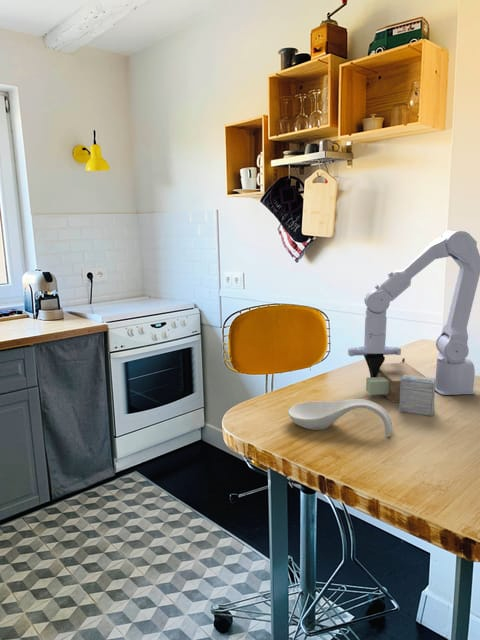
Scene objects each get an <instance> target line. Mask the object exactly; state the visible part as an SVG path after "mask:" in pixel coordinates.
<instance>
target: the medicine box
mask: <svg viewBox="0 0 480 640" xmlns="http://www.w3.org/2000/svg"><path fill="white" fill-rule="evenodd" d="M435 382H436V377H429V376H428V377H427V376H425V377H422V376H413V375H403V377H402V379H401V388H400V402H399V411H398V412H401V413H409V414H415V415H422V416H429V417H433V415H434V411H435V398H436V396H435V395H436V393H435V392H436V391H435Z"/></svg>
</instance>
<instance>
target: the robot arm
mask: <svg viewBox="0 0 480 640" xmlns="http://www.w3.org/2000/svg"><path fill="white" fill-rule="evenodd" d="M477 242H478V241H477V240H476V239H475V238H474V237H473V236H472V235H471V234H470V233H469V232H467V231H463V230H458V231H457V230H447V231H445V232H443V233H442V234H441V235H440V237H437V238H435V239H434V240H433V241H432V242H431V243H430V244H429V245H427V246H426V247H425V248H424V249H423V250H422V251H421V252H420V253H419V254H418V255H417V256H416V257H415V258H414V259H413V260H412V261H411V262H409V263H408V264H407V266H405V267H404V268H403V269H395V270H394V271H390V272H388V273H387V277H386V278H385V279H384V280H383V281H382V282H381V283H379V284H376V285H375V286H374V288H375V289H372V290H369V292H368V293H366V295H365V298H364V304H365V306H366V310H365V319H364V344H363V346H357V347H356V346H355V347H348V349H347V355H348V356H350V357H355V356H363V357H364V359H365V363H366V365H367V368H368V370H369V376H370V377H377V374H378V371H379V369H380V367H381V365H382V364H384V362H385V359H386V357H385V356H387V355H388V356H390V355H391V356H393V355H396V356H401V355H402V354H401V352H402V348H401V347H399V346H387V345H386V340H387V339H386V335H387V319H388V318H387V310H388V309H389V307H390V304H391V302H393V301H394V300H395V299H397V298H398V297H399V296H400V295H401V294H403V293H404V292H405V291H406V290H407V289H409V287H410V286H411V284H412V278H414V277H415V276H417V275H418V274H419V273H420V272H421V271H423V269H425V268H426V267H428V266H429V265H430V264H431V263H433V262H434V261H435V260H437V259H438V260H439V259H444V258H448V257H451V258H452V259H453V260H454V262H455V263H456V264H457V265H458V267H459V270H458V274H457V277H456V278H457V279H456V283H455V286H454V292H453V296H452V300H451V304H450V307H449V313H448V316H447V321H446V324H445V325H444V326H443V327H442V331H441V332H440V335H439V336H438V337H437V339H436V341H435V347H436V349H437V351H438V355H437V356H436V367H435V368H436V369H435V379H436V382H435V392H437V393H438V394H440V395H442V396H452V395H453V396H454V395H455V396H456V395H457V396H458V395H474V394H476V393H475V391H474V383H475V374H476V371H475V366H474V363H473V361H472V360H471V359H468V358H467V357H468V355H469V346H468V341H469V334H468V323H469V320H470V316H471V312H472V307H473V304H474V299H475V297H476V296H475V295H476V291H477V287H478V283H479V279H480V252H479V249H478V247H477V245H478V243H477ZM370 377H369V378H370Z"/></svg>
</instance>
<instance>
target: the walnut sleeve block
mask: <svg viewBox="0 0 480 640" xmlns="http://www.w3.org/2000/svg"><path fill="white" fill-rule="evenodd" d="M379 372H380V373H381V375H380V377H386V378H387V379H388V380H390V381H389V394H383V395H384V397H386V398H387V399H388V400H389V401H390V402H391V403H400V388H401V379H402V377H403V375H413V376H422V377H426V375H424V374H423V373H421V372H420V371H418V370H417V369H415V368H414V367H412V366H411V365H410V364H409V363H408V362H406V363H405V362H404V363H402V362H401V363H400V362H399V363H398V362H396V363H394V362H393V363H390V362H389V363H382V365H381V367H380V369H379Z"/></svg>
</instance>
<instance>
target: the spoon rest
mask: <svg viewBox="0 0 480 640" xmlns="http://www.w3.org/2000/svg"><path fill="white" fill-rule="evenodd" d="M356 409H366V410H369V411H372V412H374V413H375V414H377V415H378V416H379V418H381V421H382V422H383V426H384V432H385V436H386V437H387V438H391V437H392V432H393V425H392V418H391V417H390V415H389V413H388V411H387V410H386V409H385V408H384V407H383V406H381V405H380V404H378V403H376V402H373V401H371V400H368V399H363V398H356V399H355V398H353V399H345V400H333V401H332V400H331V401H324V400H321V401H319V400H318V401H306V402H300V403H297V404H295V405H293V406H291V407H290V408H289V409H288V411H287V415H288V417H289V418H290V420H292V421H293V422H294V423H295V424H296V425H297V426H300V427H302V428H305V429H307V430H315V431H319V430H325V429H327V428H329V427H330V426H331V425H332V424H334V423H335V422H337V420H339V419H340V418H341V417H343V416H344V415H346V414H347V413H348V412H351V411H354V410H356Z"/></svg>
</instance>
